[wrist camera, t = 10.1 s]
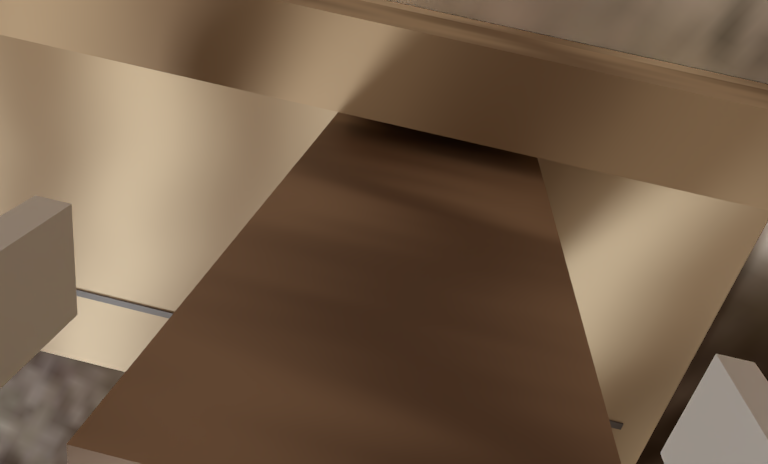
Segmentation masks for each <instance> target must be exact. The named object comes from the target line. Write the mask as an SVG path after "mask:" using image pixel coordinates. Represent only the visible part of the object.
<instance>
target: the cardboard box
mask: <svg viewBox="0 0 768 464" xmlns="http://www.w3.org/2000/svg"><path fill="white" fill-rule="evenodd" d="M66 446H67V460H68V464H621V461H620V458H619V454H618V450H617V447H616V443H615V439H614V436H613V432H612V428H611V425H610V421H609V417H608V414H607V410H606V407H605V403H604V399H603V396H602V392H601V388H600V385H599V381H598V377H597V374H596V370H595V366H594V363H593V359H592V355H591V352H590V348H589V345H588V341H587V337H586V334H585V330H584V326H583V323H582V319H581V315H580V312H579V308H578V304H577V301H576V297H575V294H574V290H573V286H572V283H571V279H570V275H569V272H568V268H567V264H566V261H565V257H564V253H563V250H562V246H561V242H560V239H559V235H558V232H557V228H556V224H555V221H554V217H553V213H552V210H551V206H550V202H549V199H548V195H547V191H546V188H545V184H544V181H543V177H542V173H541V170H540V166H539V162H538V159H537V157H532V156H528V155H524V154H519V153H515V152H511V151H506V150H502V149H497V148H493V147H489V146H484V145H480V144H476V143H471V142H467V141H462V140H458V139H454V138H449V137H445V136H441V135H436V134H432V133H428V132H423V131H419V130H414V129H410V128H406V127H401V126H397V125H393V124H388V123H384V122H379V121H375V120H371V119H366V118H362V117H358V116H353V115H349V114H345V113H340V112H338V113H337V114H336V115H335V117H334V118H333V119H332V120H331V121H330V123H329V124H328V125H327V126H326V128H325V129H324V130H323V131H322V132H321V134H320V135H319V136H318V137H317V139H316V140H315V141H314V142H313V143H312V145H311V146H310V147H309V148H308V150H307V151H306V152H305V153H304V154H303V156H302V157H301V158H300V159H299V161H298V162H297V163H296V164H295V165H294V167H293V168H292V169H291V170H290V172H289V173H288V174H287V175H286V176H285V178H284V179H283V180H282V181H281V183H280V184H279V185H278V186H277V187H276V189H275V190H274V191H273V192H272V194H271V195H270V196H269V197H268V198H267V200H266V201H265V202H264V203H263V205H262V206H261V207H260V208H259V209H258V211H257V212H256V213H255V214H254V216H253V217H252V218H251V219H250V220H249V222H248V223H247V224H246V225H245V227H244V228H243V229H242V230H241V231H240V233H239V234H238V235H237V236H236V238H235V239H234V240H233V241H232V242H231V244H230V245H229V246H228V247H227V249H226V250H225V251H224V252H223V253H222V255H221V256H220V257H219V258H218V260H217V261H216V262H215V263H214V264H213V266H212V267H211V268H210V269H209V271H208V272H207V273H206V274H205V275H204V277H203V278H202V279H201V280H200V282H199V283H198V284H197V285H196V286H195V288H194V289H193V290H192V291H191V293H190V294H189V295H188V296H187V297H186V299H185V300H184V301H183V302H182V304H181V305H180V306H179V307H178V308H177V310H176V311H175V312H174V313H173V315H172V316H171V317H170V318H169V319H168V321H167V322H166V323H165V324H164V326H163V327H162V328H161V329H160V330H159V332H158V333H157V334H156V335H155V337H154V338H153V339H152V340H151V341H150V343H149V344H148V345H147V346H146V348H145V349H144V350H143V351H142V352H141V354H140V355H139V356H138V357H137V359H136V360H135V361H134V362H133V363H132V365H131V366H130V367H129V368H128V370H127V371H126V372H125V373H124V374H123V376H122V377H121V378H120V379H119V381H118V382H117V383H116V384H115V385H114V387H113V388H112V389H111V390H110V392H109V393H108V394H107V395H106V396H105V398H104V399H103V400H102V401H101V403H100V404H99V405H98V406H97V407H96V409H95V410H94V411H93V412H92V414H91V415H90V416H89V417H88V418H87V420H86V421H85V422H84V423H83V425H82V426H81V427H80V428H79V429H78V431H77V432H76V433H75V434H74V436H73V437H72V438H71V439H70V440H69V442H68V443H67V444H66Z"/></svg>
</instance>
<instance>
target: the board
mask: <svg viewBox="0 0 768 464" xmlns="http://www.w3.org/2000/svg"><path fill="white" fill-rule="evenodd" d="M338 112H340V113H345V114H349V115H353V116H358V117H362V118H366V119H371V120H375V121H379V122H384V123H388V124H393V125H397V126H401V127H406V128H410V129H414V130H419V131H423V132H428V133H432V134H436V135H441V136H445V137H449V138H454V139H458V140H462V141H467V142H471V143H476V144H480V145H484V146H489V147H493V148H497V149H502V150H506V151H511V152H515V153H519V154H524V155H528V156H532V157H537V159H538V162H539V166H540V170H541V173H542V177H543V181H544V184H545V188H546V191H547V195H548V199H549V202H550V206H551V210H552V213H553V217H554V221H555V224H556V228H557V232H558V235H559V239H560V242H561V246H562V250H563V253H564V257H565V261H566V264H567V268H568V272H569V275H570V279H571V283H572V286H573V290H574V294H575V297H576V301H577V304H578V308H579V312H580V315H581V319H582V323H583V326H584V330H585V334H586V337H587V341H588V345H589V348H590V352H591V355H592V359H593V363H594V366H595V370H596V374H597V377H598V381H599V385H600V388H601V392H602V396H603V399H604V403H605V407H606V410H607V414H608V417H609V421H610V425H611V428H612V432H613V436H614V439H615V443H616V447H617V450H618V454H619V458H620V461H621V464H636V462H637V461H638V459H639V457H640V455H641V453H642V451H643V450H644V448H645V446H646V444H647V442H648V440H649V438H650V437H651V435H652V433H653V431H654V429H655V427H656V426H657V424H658V422H659V420H660V418H661V416H662V415H663V413H664V411H665V409H666V407H667V405H668V403H669V402H670V400H671V398H672V396H673V394H674V392H675V391H676V389H677V387H678V385H679V383H680V381H681V380H682V378H683V376H684V374H685V372H686V370H687V369H688V367H689V365H690V363H691V361H692V359H693V357H694V356H695V354H696V352H697V350H698V348H699V346H700V345H701V343H702V341H703V339H704V337H705V335H706V334H707V332H708V330H709V328H710V326H711V324H712V322H713V321H714V319H715V317H716V315H717V313H718V311H719V310H720V308H721V306H722V304H723V302H724V300H725V299H726V297H727V295H728V293H729V291H730V289H731V287H732V286H733V284H734V282H735V280H736V278H737V276H738V275H739V273H740V271H741V269H742V267H743V265H744V264H745V262H746V260H747V258H748V256H749V254H750V252H751V251H752V249H753V247H754V245H755V243H756V241H757V240H758V238H759V236H760V234H761V232H762V230H763V229H764V227H765V225H766V223H767V221H768V84H764V83H760V82H755V81H751V80H746V79H742V78H737V77H732V76H728V75H723V74H719V73H714V72H710V71H705V70H701V69H696V68H692V67H687V66H683V65H678V64H673V63H669V62H664V61H660V60H655V59H651V58H646V57H642V56H637V55H633V54H628V53H624V52H619V51H614V50H610V49H605V48H601V47H596V46H592V45H587V44H583V43H578V42H574V41H569V40H565V39H560V38H555V37H551V36H546V35H542V34H537V33H533V32H528V31H524V30H519V29H515V28H510V27H505V26H501V25H496V24H492V23H487V22H483V21H478V20H474V19H469V18H465V17H460V16H456V15H451V14H446V13H442V12H437V11H433V10H428V9H424V8H419V7H415V6H410V5H406V4H401V3H397V2H392V1H387V0H0V216H1V215H3V214H5V213H6V212H8V211H10V210H11V209H13V208H15V207H16V206H18V205H20V204H22V203H23V202H25V201H27V200H28V199H30V198H32V197H33V196H40V197H44V198H48V199H53V200H57V201H61V202H66V203H70V204H72V220H73V239H74V258H75V276H76V295H77V313H78V315H77V316H76V317H75V318H74V319H73V320H72V321H70V322H69V323H68V324H67V325H66V326H65V327H64V328H63V329H62V330H61V331H60V332H59V333H58V334H57V335H56V336H55V337H54V338H53V339H52V340H51V341H50V342H49V343H47V344H46V345H45V346H44V347H43V348H42V349H41V350H40V351H44V352H48V353H52V354H56V355H60V356H64V357H68V358H72V359H76V360H80V361H84V362H88V363H92V364H96V365H100V366H103V367H107V368H111V369H115V370H119V371H123V372H126V371H127V370H128V368H129V367H130V366H131V365H132V363H133V362H134V361H135V360H136V359H137V357H138V356H139V355H140V354H141V352H142V351H143V350H144V349H145V348H146V346H147V345H148V344H149V343H150V341H151V340H152V339H153V338H154V337H155V335H156V334H157V333H158V332H159V330H160V329H161V328H162V327H163V326H164V324H165V323H166V322H167V321H168V319H169V318H170V317H171V316H172V315H173V313H174V312H175V311H176V310H177V308H178V307H179V306H180V305H181V304H182V302H183V301H184V300H185V299H186V297H187V296H188V295H189V294H190V293H191V291H192V290H193V289H194V288H195V286H196V285H197V284H198V283H199V282H200V280H201V279H202V278H203V277H204V275H205V274H206V273H207V272H208V271H209V269H210V268H211V267H212V266H213V264H214V263H215V262H216V261H217V260H218V258H219V257H220V256H221V255H222V253H223V252H224V251H225V250H226V249H227V247H228V246H229V245H230V244H231V242H232V241H233V240H234V239H235V238H236V236H237V235H238V234H239V233H240V231H241V230H242V229H243V228H244V227H245V225H246V224H247V223H248V222H249V220H250V219H251V218H252V217H253V216H254V214H255V213H256V212H257V211H258V209H259V208H260V207H261V206H262V205H263V203H264V202H265V201H266V200H267V198H268V197H269V196H270V195H271V194H272V192H273V191H274V190H275V189H276V187H277V186H278V185H279V184H280V183H281V181H282V180H283V179H284V178H285V176H286V175H287V174H288V173H289V172H290V170H291V169H292V168H293V167H294V165H295V164H296V163H297V162H298V161H299V159H300V158H301V157H302V156H303V154H304V153H305V152H306V151H307V150H308V148H309V147H310V146H311V145H312V143H313V142H314V141H315V140H316V139H317V137H318V136H319V135H320V134H321V132H322V131H323V130H324V129H325V128H326V126H327V125H328V124H329V123H330V121H331V120H332V119H333V118H334V117H335V115H336V114H337V113H338Z"/></svg>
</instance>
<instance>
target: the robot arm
mask: <svg viewBox="0 0 768 464" xmlns="http://www.w3.org/2000/svg"><path fill="white" fill-rule="evenodd" d="M77 315H78V313H77V295H76V276H75V258H74V239H73V220H72V204H70V203H66V202H61V201H57V200H53V199H48V198H44V197H40V196H33V197H32V198H30V199H28V200H27V201H25V202H23V203H22V204H20V205H18V206H16V207H15V208H13V209H11V210H10V211H8V212H6V213H5V214H3V215H1V216H0V388H1V387H3V386H4V385H5V384H6V383H7V382H8V381H9V380H10V379H11V378H12V377H13V376H14V375H15V374H16V373H17V372H18V371H19V370H20V369H21V368H22V367H23V366H24V365H26V364H27V363H28V362H29V361H30V360H31V359H32V358H33V357H34V356H35V355H36V354H37V353H38V352H39V351H40V350H41V349H42V348H43V347H44V346H45V345H46V344H47V343H49V342H50V341H51V340H52V339H53V338H54V337H55V336H56V335H57V334H58V333H59V332H60V331H61V330H62V329H63V328H64V327H65V326H66V325H67V324H68V323H69V322H70V321H72V320H73V319H74V318H75V317H76V316H77ZM660 454H661V457H662V459H663V462H664V464H768V381H767V380H766V378H765V377H764V375H763V374H762V372H761V371H760V369H759V368H758V366H757V365H756V363H755V362H751V361H746V360H742V359H738V358H733V357H729V356H725V355H720V354H715V356H714V358H713V360H712V361H711V363H710V365H709V367H708V369H707V370H706V372H705V374H704V376H703V377H702V379H701V381H700V383H699V385H698V386H697V388H696V390H695V392H694V393H693V395H692V397H691V399H690V401H689V402H688V404H687V406H686V408H685V410H684V411H683V413H682V415H681V417H680V418H679V420H678V422H677V424H676V426H675V427H674V429H673V431H672V433H671V435H670V436H669V438H668V440H667V442H666V443H665V445H664V447H663V449H662V451H661V452H660Z"/></svg>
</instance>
